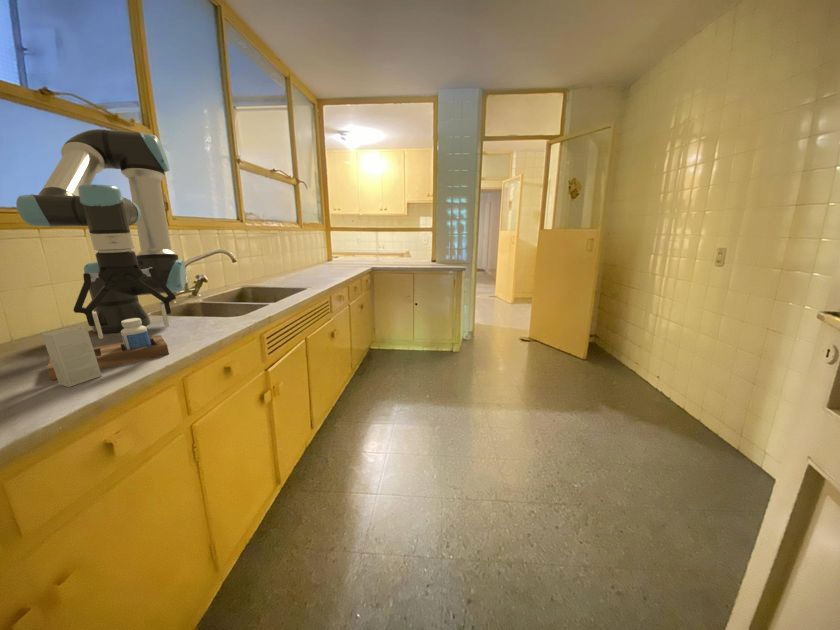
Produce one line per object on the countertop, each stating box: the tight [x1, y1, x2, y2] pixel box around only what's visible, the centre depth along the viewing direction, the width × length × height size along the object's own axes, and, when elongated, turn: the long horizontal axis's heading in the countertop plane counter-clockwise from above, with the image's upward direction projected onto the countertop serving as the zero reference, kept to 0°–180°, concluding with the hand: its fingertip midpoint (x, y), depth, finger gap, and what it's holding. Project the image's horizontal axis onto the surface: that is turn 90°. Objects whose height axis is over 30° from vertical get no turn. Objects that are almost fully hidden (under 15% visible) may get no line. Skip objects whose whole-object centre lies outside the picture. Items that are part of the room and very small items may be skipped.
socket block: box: [46, 335, 170, 381], centre depth 86 cm, size 11×22×3 cm, turn 134°
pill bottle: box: [120, 318, 151, 350], centre depth 89 cm, size 6×5×10 cm
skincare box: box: [41, 325, 102, 388], centre depth 74 cm, size 6×4×12 cm
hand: (135, 331), depth 89 cm, fingers open, 13 cm apart
